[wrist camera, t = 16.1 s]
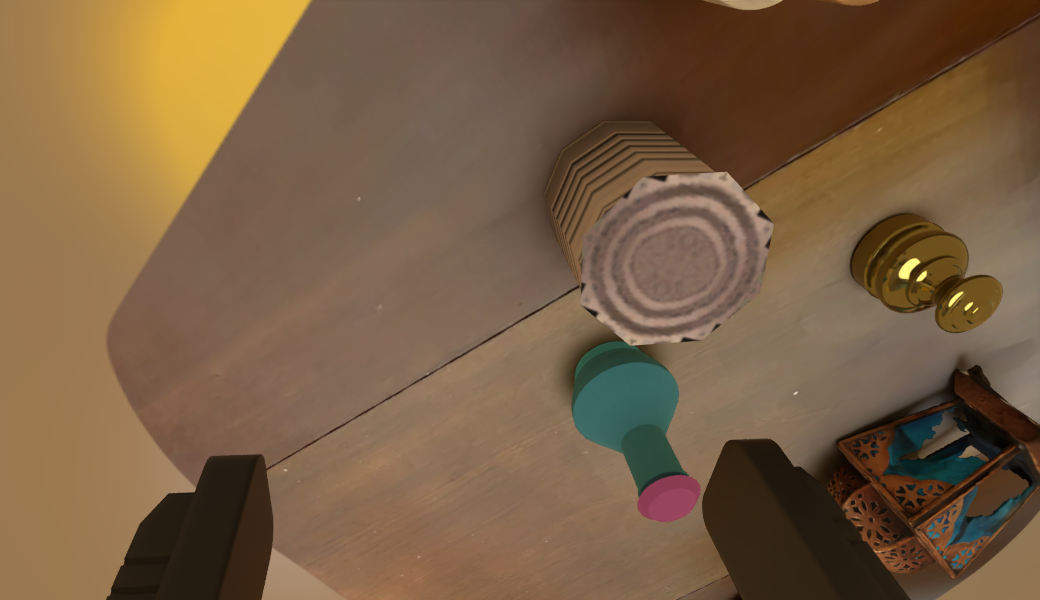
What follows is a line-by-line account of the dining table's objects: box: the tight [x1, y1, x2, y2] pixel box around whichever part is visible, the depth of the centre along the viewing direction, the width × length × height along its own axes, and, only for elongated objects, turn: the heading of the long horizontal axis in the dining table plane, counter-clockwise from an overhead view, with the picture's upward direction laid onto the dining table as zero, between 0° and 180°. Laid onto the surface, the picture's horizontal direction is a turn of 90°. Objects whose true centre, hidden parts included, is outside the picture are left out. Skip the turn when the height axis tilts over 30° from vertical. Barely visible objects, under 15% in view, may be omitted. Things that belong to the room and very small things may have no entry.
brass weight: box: [852, 214, 1003, 333], centre depth 47 cm, size 7×8×10 cm
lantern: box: [827, 365, 1040, 579], centre depth 62 cm, size 16×16×25 cm
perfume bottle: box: [572, 341, 701, 522], centre depth 47 cm, size 9×9×15 cm
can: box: [544, 121, 774, 346], centre depth 39 cm, size 11×11×12 cm
